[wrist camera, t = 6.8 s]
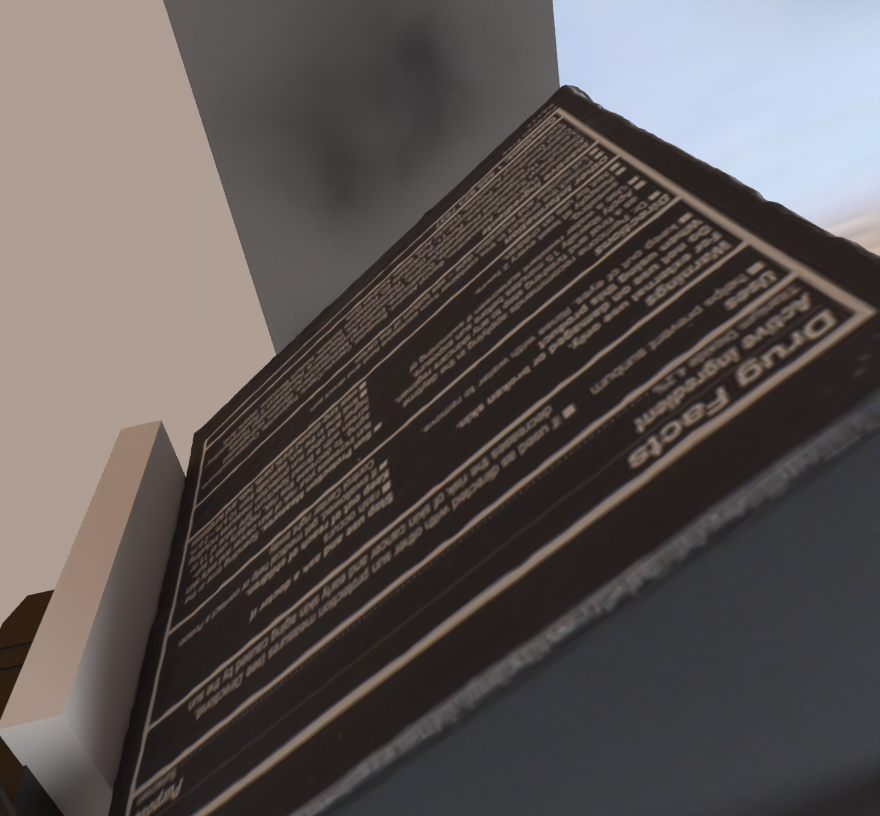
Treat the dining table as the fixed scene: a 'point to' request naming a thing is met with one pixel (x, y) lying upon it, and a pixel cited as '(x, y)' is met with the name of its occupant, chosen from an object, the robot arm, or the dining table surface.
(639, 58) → the dining table surface
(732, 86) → the dining table surface
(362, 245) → the vise
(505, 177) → the small box
